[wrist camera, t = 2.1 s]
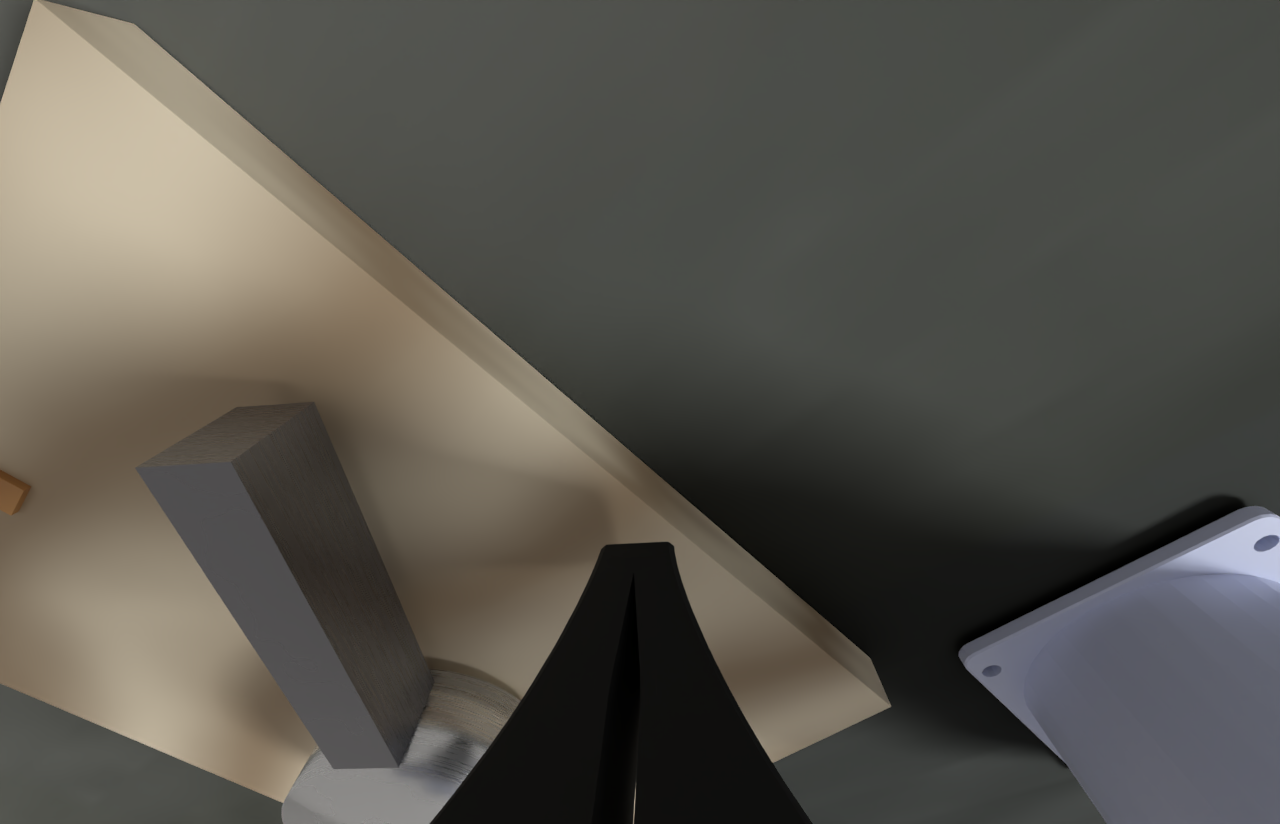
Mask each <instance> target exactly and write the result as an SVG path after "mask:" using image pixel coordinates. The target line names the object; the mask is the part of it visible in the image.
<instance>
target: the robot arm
mask: <svg viewBox="0 0 1280 824" xmlns="http://www.w3.org/2000/svg"><path fill="white" fill-rule="evenodd" d="M958 656H959V658H960V660H961V661H962V663H963V665H964V666H965V668H966V669H967V670H968V671H969V672H970V673H971V674H972V675H973V676H974V677H975V678H976V679H977V680H978V681H979V682H980V683H981V684H982V685H984V686H985V687H986V688H987V689H988V690H989V691H990V692H991V693H992V694H993V695H994V696H995V697H996V698H997V699H998V700H999V701H1000V702H1001V703H1002V704H1004V705H1005V706H1006V707H1007V708H1008V709H1009V710H1010V711H1011V712H1012V713H1013V714H1014V715H1015V716H1016V717H1017V718H1018V719H1019V720H1020V721H1021V722H1022V723H1024V724H1025V725H1026V726H1027V727H1028V728H1029V729H1030V730H1031V731H1032V732H1033V733H1034V734H1035V735H1036V736H1037V737H1038V738H1039V739H1040V740H1041V741H1042V742H1043V743H1045V744H1046V745H1047V746H1048V747H1049V748H1050V749H1051V750H1052V751H1053V752H1054V753H1055V754H1056V755H1057V756H1058V757H1059V758H1060V759H1061V760H1062V761H1063V762H1065V763H1066V764H1067V766H1068V767H1069V769H1070V770H1071V772H1072V773H1073V775H1074V776H1075V778H1076V779H1077V781H1078V782H1079V783H1080V785H1081V786H1082V788H1083V789H1084V791H1085V792H1086V794H1087V795H1088V797H1089V798H1090V800H1091V801H1092V803H1093V804H1094V806H1095V807H1096V808H1097V810H1098V811H1099V813H1100V814H1101V816H1102V817H1103V819H1104V820H1105V822H1106V823H1107V824H1280V517H1279V516H1278V515H1276V514H1274V513H1273V512H1271V511H1269V510H1267V509H1266V508H1264V507H1260V506H1250V507H1244V508H1241V509H1238V510H1236V511H1234V512H1232V513H1230V514H1228V515H1226V516H1224V517H1222V518H1220V519H1218V520H1216V521H1213V522H1211V523H1209V524H1207V525H1205V526H1203V527H1201V528H1199V529H1197V530H1195V531H1193V532H1191V533H1189V534H1187V535H1185V536H1183V537H1181V538H1179V539H1177V540H1175V541H1173V542H1171V543H1169V544H1167V545H1165V546H1163V547H1161V548H1159V549H1157V550H1155V551H1153V552H1151V553H1149V554H1147V555H1145V556H1143V557H1141V558H1139V559H1137V560H1135V561H1133V562H1131V563H1128V564H1126V565H1124V566H1122V567H1120V568H1118V569H1116V570H1114V571H1112V572H1110V573H1108V574H1106V575H1104V576H1102V577H1100V578H1098V579H1096V580H1094V581H1092V582H1090V583H1088V584H1086V585H1084V586H1082V587H1080V588H1078V589H1076V590H1074V591H1072V592H1070V593H1068V594H1066V595H1064V596H1062V597H1060V598H1058V599H1056V600H1054V601H1052V602H1050V603H1048V604H1046V605H1044V606H1041V607H1039V608H1037V609H1035V610H1033V611H1031V612H1029V613H1027V614H1025V615H1023V616H1021V617H1019V618H1017V619H1015V620H1013V621H1011V622H1009V623H1007V624H1005V625H1003V626H1001V627H999V628H997V629H995V630H993V631H991V632H989V633H987V634H985V635H983V636H981V637H979V638H977V639H975V640H973V641H971V642H969V643H967V644H965V645H964V646H963V647H962V648H961V649H960V651H959V655H958ZM635 789H636V794H635ZM634 800H635V811H634ZM633 818H634V824H812V822H811V821H810V819H809V818H808V816H807V815H806V813H805V812H804V810H803V809H802V807H801V806H800V804H799V803H798V802H797V800H796V799H795V797H794V796H793V794H792V793H791V791H790V790H789V788H788V787H787V785H786V784H785V782H784V781H783V779H782V777H781V776H780V774H779V773H778V771H777V769H776V768H775V766H774V765H773V763H772V761H771V760H770V758H769V756H768V755H767V753H766V752H765V750H764V748H763V747H762V745H761V744H760V742H759V740H758V738H757V737H756V735H755V733H754V732H753V730H752V728H751V726H750V725H749V723H748V721H747V720H746V718H745V716H744V714H743V713H742V711H741V709H740V707H739V705H738V704H737V702H736V700H735V698H734V696H733V694H732V693H731V691H730V689H729V687H728V685H727V683H726V681H725V679H724V677H723V675H722V673H721V671H720V669H719V667H718V665H717V663H716V661H715V659H714V657H713V655H712V653H711V651H710V649H709V647H708V645H707V643H706V640H705V638H704V636H703V633H702V631H701V629H700V626H699V624H698V622H697V620H696V617H695V615H694V613H693V610H692V608H691V605H690V602H689V600H688V597H687V594H686V591H685V589H684V586H683V583H682V580H681V576H680V573H679V569H678V566H677V561H676V556H675V549H674V545H672V544H671V543H670V542H648V543H628V544H608V545H605V546H604V547H603V548H602V549H601V551H600V554H599V556H598V559H597V562H596V564H595V566H594V569H593V571H592V573H591V576H590V578H589V580H588V582H587V585H586V587H585V589H584V591H583V593H582V595H581V597H580V599H579V601H578V603H577V605H576V607H575V609H574V611H573V613H572V615H571V617H570V618H569V620H568V622H567V624H566V626H565V628H564V630H563V632H562V633H561V635H560V637H559V639H558V641H557V643H556V644H555V646H554V648H553V649H552V651H551V653H550V654H549V656H548V658H547V659H546V661H545V663H544V664H543V666H542V668H541V669H540V671H539V673H538V674H537V676H536V678H535V679H534V681H533V683H532V684H531V686H530V687H529V689H528V691H527V692H526V694H525V695H524V697H523V698H522V700H521V701H520V703H519V704H518V706H517V707H516V709H515V710H514V712H513V713H512V715H511V716H510V718H509V719H508V721H507V722H506V724H505V725H504V726H503V728H502V729H501V731H500V732H499V733H498V735H497V736H496V738H495V739H494V741H493V742H492V743H491V745H490V746H489V748H488V749H487V750H486V752H485V753H484V754H483V756H482V757H481V758H480V760H479V761H478V762H477V764H476V765H475V766H474V767H473V769H472V770H471V771H470V773H469V774H468V775H467V777H466V778H465V779H464V781H463V782H462V783H461V785H460V786H459V787H458V789H457V790H456V791H455V792H454V794H453V795H452V796H451V798H450V799H449V800H448V801H447V803H446V804H445V805H444V806H443V808H442V809H441V810H440V811H439V813H438V814H437V815H436V816H435V817H434V819H433V820H432V821H431V822H430V824H633Z"/></svg>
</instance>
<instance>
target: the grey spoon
mask: <svg viewBox="0 0 1280 824" xmlns="http://www.w3.org/2000/svg"><path fill="white" fill-rule="evenodd" d="M135 469H136V470H137V472H138V473H139V475H140V476H141V478H142V479H143V481H144V482H145V484H146V485H147V487H148V489H149V490H150V492H151V493H152V495H153V496H154V498H155V499H156V501H157V502H158V504H159V505H160V507H161V508H162V510H163V511H164V513H165V514H166V516H167V517H168V519H169V520H170V522H171V523H172V525H173V526H174V528H175V529H176V531H177V533H178V534H179V536H180V537H181V539H182V540H183V542H184V543H185V545H186V546H187V548H188V549H189V551H190V552H191V554H192V555H193V557H194V558H195V560H196V561H197V563H198V564H199V566H200V567H201V569H202V570H203V572H204V574H205V575H206V577H207V578H208V580H209V581H210V583H211V584H212V586H213V587H214V589H215V590H216V592H217V593H218V595H219V596H220V598H221V599H222V601H223V602H224V604H225V605H226V607H227V608H228V610H229V611H230V613H231V614H232V616H233V618H234V619H235V621H236V622H237V624H238V625H239V627H240V628H241V630H242V631H243V633H244V634H245V636H246V637H247V639H248V640H249V642H250V643H251V645H252V646H253V648H254V649H255V651H256V652H257V654H258V655H259V657H260V658H261V660H262V662H263V663H264V665H265V666H266V668H267V669H268V671H269V672H270V674H271V675H272V677H273V678H274V680H275V681H276V683H277V684H278V686H279V687H280V689H281V690H282V692H283V693H284V695H285V696H286V698H287V699H288V701H289V703H290V704H291V706H292V707H293V709H294V710H295V712H296V713H297V715H298V716H299V718H300V719H301V721H302V722H303V724H304V725H305V727H306V728H307V730H308V731H309V733H310V734H311V736H312V737H313V739H314V740H315V742H316V743H317V744H316V746H315V748H314V749H313V751H312V753H311V755H310V756H309V758H308V760H307V762H306V763H305V765H304V767H303V769H302V770H301V772H300V774H299V776H298V777H297V779H296V781H295V782H294V784H293V786H292V788H291V789H290V791H289V793H288V795H287V796H286V798H285V800H284V803H283V805H282V813H281V814H282V820H283V823H284V824H430V822H431V821H432V820H433V819H434V817H435V816H436V815H437V814H438V813H439V811H440V810H441V809H442V808H443V806H444V805H445V804H446V803H447V801H448V800H449V799H450V798H451V796H452V795H453V794H454V792H455V791H456V790H457V789H458V787H459V786H460V785H461V783H462V782H463V781H464V779H465V778H466V777H467V775H468V774H469V773H470V771H471V770H472V769H473V767H474V766H475V765H476V764H477V762H478V761H479V760H480V758H481V757H482V756H483V754H484V753H485V752H486V750H487V749H488V748H489V746H490V745H491V743H492V742H493V741H494V739H495V738H496V736H497V735H498V733H499V732H500V731H501V729H502V728H503V726H504V725H505V724H506V722H507V721H508V719H509V718H510V716H511V715H512V713H513V712H514V710H515V709H516V707H517V706H518V704H519V703H520V700H519V699H517V698H516V697H514V696H513V695H512V694H510V693H508V692H507V691H505V690H503V689H501V688H499V687H497V686H495V685H493V684H491V683H489V682H486V681H484V680H481V679H478V678H475V677H472V676H468V675H464V674H461V673H456V672H451V671H445V670H436V669H429V668H428V665H427V663H426V661H425V658H424V656H423V654H422V651H421V649H420V647H419V644H418V642H417V640H416V637H415V635H414V633H413V630H412V628H411V626H410V623H409V621H408V619H407V616H406V614H405V612H404V609H403V607H402V605H401V602H400V600H399V598H398V595H397V593H396V591H395V589H394V586H393V584H392V582H391V579H390V577H389V575H388V572H387V570H386V568H385V565H384V563H383V561H382V558H381V556H380V554H379V551H378V549H377V547H376V544H375V542H374V540H373V537H372V535H371V533H370V530H369V528H368V526H367V523H366V521H365V519H364V516H363V514H362V512H361V509H360V507H359V505H358V502H357V500H356V498H355V495H354V493H353V491H352V489H351V486H350V484H349V482H348V479H347V477H346V475H345V472H344V470H343V468H342V465H341V463H340V461H339V458H338V456H337V454H336V451H335V449H334V447H333V444H332V442H331V440H330V437H329V435H328V433H327V430H326V428H325V426H324V423H323V421H322V419H321V416H320V414H319V412H318V409H317V407H316V405H315V402H304V403H289V404H275V405H261V406H246V407H236V408H234V409H232V410H231V411H229V412H227V413H226V414H224V415H222V416H221V417H219V418H217V419H216V420H214V421H212V422H211V423H209V424H207V425H206V426H204V427H202V428H201V429H199V430H197V431H196V432H194V433H192V434H191V435H189V436H187V437H186V438H184V439H182V440H181V441H179V442H177V443H176V444H174V445H172V446H171V447H169V448H167V449H166V450H164V451H162V452H160V453H159V454H157V455H155V456H154V457H152V458H150V459H149V460H147V461H145V462H144V463H142V464H140V465H139V466H137V467H135Z"/></svg>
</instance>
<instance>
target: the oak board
mask: <svg viewBox="0 0 1280 824" xmlns="http://www.w3.org/2000/svg"><path fill="white" fill-rule="evenodd" d="M304 402H315V405H316V407H317V409H318V412H319V414H320V416H321V419H322V421H323V423H324V426H325V428H326V430H327V433H328V435H329V437H330V440H331V442H332V444H333V447H334V449H335V451H336V454H337V456H338V458H339V461H340V463H341V465H342V468H343V470H344V472H345V475H346V477H347V479H348V482H349V484H350V486H351V489H352V491H353V493H354V495H355V498H356V500H357V502H358V505H359V507H360V509H361V512H362V514H363V516H364V519H365V521H366V523H367V526H368V528H369V530H370V533H371V535H372V537H373V540H374V542H375V544H376V547H377V549H378V551H379V554H380V556H381V558H382V561H383V563H384V565H385V568H386V570H387V572H388V575H389V577H390V579H391V582H392V584H393V586H394V589H395V591H396V593H397V595H398V598H399V600H400V602H401V605H402V607H403V609H404V612H405V614H406V616H407V619H408V621H409V623H410V626H411V628H412V630H413V633H414V635H415V637H416V640H417V642H418V644H419V647H420V649H421V651H422V654H423V656H424V658H425V661H426V663H427V665H428V668H429V669H436V670H445V671H451V672H456V673H461V674H464V675H468V676H472V677H475V678H478V679H481V680H484V681H486V682H489V683H491V684H493V685H495V686H497V687H499V688H501V689H503V690H505V691H507V692H508V693H510V694H512V695H513V696H514V697H516V698H517V699H519V700H520V701H521V700H522V698H523V697H524V695H525V694H526V692H527V691H528V689H529V687H530V686H531V684H532V683H533V681H534V679H535V678H536V676H537V674H538V673H539V671H540V669H541V668H542V666H543V664H544V663H545V661H546V659H547V658H548V656H549V654H550V653H551V651H552V649H553V648H554V646H555V644H556V643H557V641H558V639H559V637H560V635H561V633H562V632H563V630H564V628H565V626H566V624H567V622H568V620H569V618H570V617H571V615H572V613H573V611H574V609H575V607H576V605H577V603H578V601H579V599H580V597H581V595H582V593H583V591H584V589H585V587H586V585H587V582H588V580H589V578H590V576H591V573H592V571H593V569H594V566H595V564H596V562H597V559H598V556H599V554H600V551H601V549H602V548H603V547H604V546H605V545H608V544H628V543H648V542H670V543H671V544H672V545H674V549H675V556H676V561H677V566H678V569H679V573H680V576H681V580H682V583H683V586H684V589H685V591H686V594H687V597H688V600H689V602H690V605H691V608H692V610H693V613H694V615H695V617H696V620H697V622H698V624H699V626H700V629H701V631H702V633H703V636H704V638H705V640H706V643H707V645H708V647H709V649H710V651H711V653H712V655H713V657H714V659H715V661H716V663H717V665H718V667H719V669H720V671H721V673H722V675H723V677H724V679H725V681H726V683H727V685H728V687H729V689H730V691H731V693H732V694H733V696H734V698H735V700H736V702H737V704H738V705H739V707H740V709H741V711H742V713H743V714H744V716H745V718H746V720H747V721H748V723H749V725H750V726H751V728H752V730H753V732H754V733H755V735H756V737H757V738H758V740H759V742H760V744H761V745H762V747H763V748H764V750H765V752H766V753H767V755H768V756H769V758H770V760H771V761H772V763H773V762H775V761H778V760H780V759H782V758H784V757H786V756H788V755H790V754H792V753H794V752H797V751H799V750H801V749H803V748H805V747H807V746H809V745H811V744H813V743H816V742H818V741H820V740H822V739H824V738H826V737H828V736H830V735H832V734H835V733H837V732H839V731H841V730H843V729H845V728H847V727H849V726H851V725H854V724H856V723H858V722H860V721H862V720H864V719H866V718H868V717H870V716H873V715H875V714H877V713H879V712H881V711H883V710H885V709H887V708H889V707H891V704H890V702H889V700H888V698H887V695H886V693H885V691H884V688H883V686H882V684H881V681H880V679H879V677H878V674H877V672H876V670H875V668H874V665H873V663H872V661H871V658H870V657H869V656H867V655H866V654H865V653H864V652H863V651H862V650H860V649H859V648H858V647H857V646H856V645H855V644H854V643H852V642H851V641H850V640H849V639H848V638H847V637H845V636H844V635H843V634H842V633H841V632H840V631H838V630H837V629H836V628H835V627H834V626H833V625H831V624H830V623H829V622H828V621H827V620H826V619H824V618H823V617H822V616H821V615H820V614H819V613H818V612H816V611H815V610H814V609H813V608H812V607H811V606H809V605H808V604H807V603H806V602H805V601H804V600H802V599H801V598H800V597H799V596H798V595H797V594H795V593H794V592H793V591H792V590H791V589H790V588H788V587H787V586H786V585H785V584H784V583H783V582H782V581H780V580H779V579H778V578H777V577H776V576H775V575H773V574H772V573H771V572H770V571H769V570H768V569H766V568H765V567H764V566H763V565H762V564H761V563H759V562H758V561H757V560H756V559H755V558H754V557H753V556H751V555H750V554H749V553H748V552H747V551H746V550H744V549H743V548H742V547H741V546H740V545H739V544H737V543H736V542H735V541H734V540H733V539H732V538H730V537H729V536H728V535H727V534H726V533H725V532H723V531H722V530H721V529H720V528H719V527H718V526H717V525H715V524H714V523H713V522H712V521H711V520H710V519H708V518H707V517H706V516H705V515H704V514H703V513H701V512H700V511H699V510H698V509H697V508H696V507H694V506H693V505H692V504H691V503H690V502H689V501H687V500H686V499H685V498H684V497H683V496H682V495H681V494H679V493H678V492H677V491H676V490H675V489H674V488H672V487H671V486H670V485H669V484H668V483H667V482H665V481H664V480H663V479H662V478H661V477H660V476H658V475H657V474H656V473H655V472H654V471H653V470H651V469H650V468H649V467H648V466H647V465H646V464H645V463H643V462H642V461H641V460H640V459H639V458H638V457H636V456H635V455H634V454H633V453H632V452H631V451H629V450H628V449H627V448H626V447H625V446H624V445H622V444H621V443H620V442H619V441H618V440H617V439H616V438H614V437H613V436H612V435H611V434H610V433H609V432H607V431H606V430H605V429H604V428H603V427H602V426H600V425H599V424H598V423H597V422H596V421H595V420H593V419H592V418H591V417H590V416H589V415H588V414H586V413H585V412H584V411H583V410H582V409H581V408H580V407H578V406H577V405H576V404H575V403H574V402H573V401H571V400H570V399H569V398H568V397H567V396H566V395H564V394H563V393H562V392H561V391H560V390H559V389H557V388H556V387H555V386H554V385H553V384H552V383H550V382H549V381H548V380H547V379H546V378H545V377H544V376H542V375H541V374H540V373H539V372H538V371H537V370H535V369H534V368H533V367H532V366H531V365H530V364H528V363H527V362H526V361H525V360H524V359H523V358H521V357H520V356H519V355H518V354H517V353H516V352H515V351H513V350H512V349H511V348H510V347H509V346H508V345H506V344H505V343H504V342H503V341H502V340H501V339H499V338H498V337H497V336H496V335H495V334H494V333H492V332H491V331H490V330H489V329H488V328H487V327H485V326H484V325H483V324H482V323H481V322H480V321H479V320H477V319H476V318H475V317H474V316H473V315H472V314H470V313H469V312H468V311H467V310H466V309H465V308H463V307H462V306H461V305H460V304H459V303H458V302H456V301H455V300H454V299H453V298H452V297H451V296H449V295H448V294H447V293H446V292H445V291H444V290H443V289H441V288H440V287H439V286H438V285H437V284H436V283H434V282H433V281H432V280H431V279H430V278H429V277H427V276H426V275H425V274H424V273H423V272H422V271H420V270H419V269H418V268H417V267H416V266H415V265H413V264H412V263H411V262H410V261H409V260H408V259H407V258H405V257H404V256H403V255H402V254H401V253H400V252H398V251H397V250H396V249H395V248H394V247H393V246H391V245H390V244H389V243H388V242H387V241H386V240H384V239H383V238H382V237H381V236H380V235H379V234H378V233H376V232H375V231H374V230H373V229H372V228H371V227H369V226H368V225H367V224H366V223H365V222H364V221H362V220H361V219H360V218H359V217H358V216H357V215H355V214H354V213H353V212H352V211H351V210H350V209H348V208H347V207H346V206H345V205H344V204H343V203H342V202H340V201H339V200H338V199H337V198H336V197H335V196H333V195H332V194H331V193H330V192H329V191H328V190H326V189H325V188H324V187H323V186H322V185H321V184H319V183H318V182H317V181H316V180H315V179H314V178H312V177H311V176H310V175H309V174H308V173H307V172H306V171H304V170H303V169H302V168H301V167H300V166H299V165H297V164H296V163H295V162H294V161H293V160H292V159H290V158H289V157H288V156H287V155H286V154H285V153H283V152H282V151H281V150H280V149H279V148H278V147H276V146H275V145H274V144H273V143H272V142H271V141H270V140H268V139H267V138H266V137H265V136H264V135H263V134H261V133H260V132H259V131H258V130H257V129H256V128H254V127H253V126H252V125H251V124H250V123H249V122H247V121H246V120H245V119H244V118H243V117H242V116H241V115H239V114H238V113H237V112H236V111H235V110H234V109H232V108H231V107H230V106H229V105H228V104H227V103H225V102H224V101H223V100H222V99H221V98H220V97H218V96H217V95H216V94H215V93H214V92H213V91H211V90H210V89H209V88H208V87H207V86H206V85H205V84H203V83H202V82H201V81H200V80H199V79H198V78H196V77H195V76H194V75H193V74H192V73H191V72H189V71H188V70H187V69H186V68H185V67H184V66H182V65H181V64H180V63H179V62H178V61H177V60H175V59H174V58H173V57H172V56H171V55H170V54H169V53H167V52H166V51H165V50H164V49H163V48H162V47H160V46H159V45H158V44H157V43H156V42H155V41H153V40H152V39H151V38H150V37H149V36H148V35H146V34H145V33H144V32H143V31H142V30H141V29H140V28H138V27H137V26H136V25H135V24H133V23H129V22H125V21H121V20H117V19H113V18H109V17H106V16H102V15H98V14H94V13H90V12H86V11H82V10H78V9H75V8H71V7H67V6H63V5H59V4H55V3H51V2H47V1H43V0H34V1H33V4H32V7H31V10H30V13H29V17H28V20H27V23H26V26H25V29H24V32H23V35H22V38H21V41H20V44H19V47H18V51H17V54H16V57H15V60H14V63H13V66H12V69H11V72H10V75H9V78H8V81H7V85H6V88H5V91H4V94H3V97H2V100H1V103H0V683H1V684H3V685H6V686H8V687H10V688H13V689H15V690H17V691H20V692H22V693H25V694H27V695H29V696H32V697H34V698H36V699H39V700H41V701H43V702H46V703H48V704H51V705H53V706H55V707H58V708H60V709H62V710H65V711H67V712H69V713H72V714H74V715H77V716H79V717H81V718H84V719H86V720H88V721H91V722H93V723H95V724H98V725H100V726H103V727H105V728H107V729H110V730H112V731H114V732H117V733H119V734H121V735H124V736H126V737H128V738H131V739H133V740H136V741H138V742H140V743H143V744H145V745H147V746H150V747H152V748H154V749H157V750H159V751H162V752H164V753H166V754H169V755H171V756H173V757H176V758H178V759H180V760H183V761H185V762H188V763H190V764H192V765H195V766H197V767H199V768H202V769H204V770H206V771H209V772H211V773H214V774H216V775H218V776H221V777H223V778H225V779H228V780H230V781H232V782H235V783H237V784H240V785H242V786H244V787H247V788H249V789H251V790H254V791H256V792H258V793H261V794H263V795H266V796H268V797H270V798H273V799H275V800H277V801H280V802H282V803H284V800H285V798H286V796H287V795H288V793H289V791H290V789H291V788H292V786H293V784H294V782H295V781H296V779H297V777H298V776H299V774H300V772H301V770H302V769H303V767H304V765H305V763H306V762H307V760H308V758H309V756H310V755H311V753H312V751H313V749H314V748H315V746H316V744H317V743H316V742H315V740H314V739H313V737H312V736H311V734H310V733H309V731H308V730H307V728H306V727H305V725H304V724H303V722H302V721H301V719H300V718H299V716H298V715H297V713H296V712H295V710H294V709H293V707H292V706H291V704H290V703H289V701H288V699H287V698H286V696H285V695H284V693H283V692H282V690H281V689H280V687H279V686H278V684H277V683H276V681H275V680H274V678H273V677H272V675H271V674H270V672H269V671H268V669H267V668H266V666H265V665H264V663H263V662H262V660H261V658H260V657H259V655H258V654H257V652H256V651H255V649H254V648H253V646H252V645H251V643H250V642H249V640H248V639H247V637H246V636H245V634H244V633H243V631H242V630H241V628H240V627H239V625H238V624H237V622H236V621H235V619H234V618H233V616H232V614H231V613H230V611H229V610H228V608H227V607H226V605H225V604H224V602H223V601H222V599H221V598H220V596H219V595H218V593H217V592H216V590H215V589H214V587H213V586H212V584H211V583H210V581H209V580H208V578H207V577H206V575H205V574H204V572H203V570H202V569H201V567H200V566H199V564H198V563H197V561H196V560H195V558H194V557H193V555H192V554H191V552H190V551H189V549H188V548H187V546H186V545H185V543H184V542H183V540H182V539H181V537H180V536H179V534H178V533H177V531H176V529H175V528H174V526H173V525H172V523H171V522H170V520H169V519H168V517H167V516H166V514H165V513H164V511H163V510H162V508H161V507H160V505H159V504H158V502H157V501H156V499H155V498H154V496H153V495H152V493H151V492H150V490H149V489H148V487H147V485H146V484H145V482H144V481H143V479H142V478H141V476H140V475H139V473H138V472H137V470H136V469H135V467H137V466H139V465H140V464H142V463H144V462H145V461H147V460H149V459H150V458H152V457H154V456H155V455H157V454H159V453H160V452H162V451H164V450H166V449H167V448H169V447H171V446H172V445H174V444H176V443H177V442H179V441H181V440H182V439H184V438H186V437H187V436H189V435H191V434H192V433H194V432H196V431H197V430H199V429H201V428H202V427H204V426H206V425H207V424H209V423H211V422H212V421H214V420H216V419H217V418H219V417H221V416H222V415H224V414H226V413H227V412H229V411H231V410H232V409H234V408H236V407H246V406H261V405H275V404H289V403H304ZM635 794H636V789H635ZM634 811H635V800H634ZM633 824H634V818H633Z"/></svg>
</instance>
